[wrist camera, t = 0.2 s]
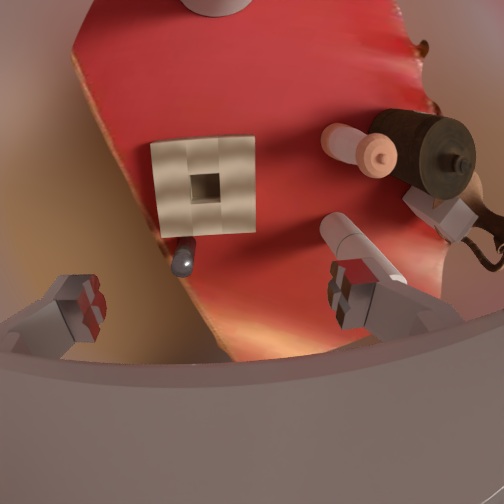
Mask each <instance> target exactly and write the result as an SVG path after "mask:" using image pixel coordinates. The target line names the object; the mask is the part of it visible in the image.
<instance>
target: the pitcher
mask: <svg viewBox="0 0 504 504" xmlns="http://www.w3.org/2000/svg"><path fill="white" fill-rule="evenodd" d="M457 197H458V198H460V199H461V200H462V201H463V202H464V203H465V204H466V205H467V206H468V207H469V208H470V209H471V210H472V211H473V212H474V213H475V214H476V215H477V216H478V218H477V220H476V221H475V223H474V224H473V225H472V227H479V228H482V229H484V230H486V231H488V232H489V233H491V234H492V235H494V243H495V246H496V251H497V253H498V254H502V253H503V256H502V258H501V260H500V261H499V262H498V263H497V264H496V265H494V264H492V263H491V262H490V261H489V260H488V259H487V258H486V257H485V256H484V254H483V253H482V252H481V251H480V249H479V248H478V247H477V245H476V244H475V243H473V241H472V240H470V239H469V238H468V237H466V236H465V237H463V239H462V240H461V241H463V242H464V243H466V244H467V245H468V246H469V247H470V248H471V249H472V251H473V252H474V254H475V255H476V257H477V258H478V259H479V261H480V263H481V264H482V265H483V266H484V267H485V268H486V269H487V270H489V271H491V272H499V271H501V270H502V269H503V268H504V217H502V216H499V215H496V214H495V213H493V212H491V211H490V210H489V209H487V208H486V207H485V205H484V204H483V201H482V200H483V190H482V184H481V181H480V178H479V176H478V175H477V173H476V172H475V171H474V172H473V175H472V178H471V180H470V182H469V184H468V186H467V187H466V188H465V190H464V191H463V192H462V193H461V194H459V195H458V196H457ZM444 201H445V200H440V199H437V198H434V202H433V209H435V208H436V207H438V206H439V205H441V204H442V203H443V202H444ZM434 226H435V225H434ZM472 227H471V228H472ZM471 228H470V229H471ZM435 229H436V231H437V233H438V234H439V235H440V236H441V237H442V238H443V239H445V240H446V241H447V242H451V241H449V240H448V239H447V238H445V237H444V236H443V235H442V234H441V232H440V231H439V230H438V229H437V227H436V226H435Z"/></svg>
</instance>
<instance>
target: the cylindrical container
mask: <svg viewBox="0 0 504 504" xmlns="http://www.w3.org/2000/svg"><path fill="white" fill-rule="evenodd" d="M320 234H321V236H322V238H323V239H324V240H325V242H326V243H327V245H328V246H329V248H330V249H331V251H332V252H333V253H334V255H335V256H336V258H337V259H338V261H339V260H349V259H359V258H368V257H372V258H374V259H375V260H376V261H377V262H378V263H379V264H380V266H381V267H382V268H383V269H384V270H385V271H386V273H387V274H388V275H389V276H390V277H391V278H392V280H398V281H400V282H402V283H405V284H407V281H406V279H405V278H404V277H403V276H402V275H401V273H400V272H399V271H398V270H397V269H396V268H395V267H394V266H393V265H392V263H391V262H390V261H389V260H388V259H387V258H386V257H385V256H384V255H383V254H382V252H381V251H380V250H379V249H378V248H377V247H376V246H375V245H374V244H373V243H372V242H371V241H370V240H369V239H368V238H367V237H366V236H365V235H364V234H363V233H362V231H361V230H360V229H359V228H358V227H357V226H356V225H355V224H354V223H353V222H352V221H351V220H350V219H349V218H348V217H347V216H346V215H344V214H343V213H340V212H333V213H330V214H328V215H327V216H326V217H325V218H324V219H323V220H322V222H321V224H320Z"/></svg>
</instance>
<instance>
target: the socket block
mask: <svg viewBox="0 0 504 504" xmlns="http://www.w3.org/2000/svg"><path fill="white" fill-rule="evenodd" d="M150 147H151V158H152V168H153V177H154V186H155V194H156V202H157V210H158V217H159V224H160V231H161V237H162V238H167V237H182V236H198V235H214V234H232V233H250V232H256V209H255V136H254V135H253V134H232V135H212V136H197V137H185V138H174V139H164V140H156V141H154V142H153V143H151V144H150Z"/></svg>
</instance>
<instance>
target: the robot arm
mask: <svg viewBox="0 0 504 504" xmlns="http://www.w3.org/2000/svg"><path fill="white" fill-rule="evenodd" d="M180 1H181V2H182V3H183V4H184V5H185V6H186V7H187V8H188V9H190V10H191V11H193V12H195V13H198V14H200V15H204V16H212V17H218V16H226V15H230V14H233V13H236V12H238V11H240V10H242V9H243V8H245V7H246V6H247V5H248V4H249V3H250V2H251V1H252V0H180ZM330 273H331V275H332V277H333V278H332V279H331V280H330V281H329V283H328V289H327V295H328V302H329V305H330V307H331V309H333V310H334V311H336V319H337V321H338V323H339V325H340V327H341V329H342V330H344V329H352V328H360V327H364V328H365V329H366V330H368V331H369V332H370V333H372V334H373V335H375V336H376V337H377V338H379V339H380V340H381V341H383V343H378V344H372V345H368V346H362V347H356V348H351V349H345V350H339V351H333V352H326V353H319V354H312V355H304V356H297V357H288V358H279V359H269V360H258V361H246V362H232V363H215V364H214V363H213V364H183V365H182V364H179V365H150V364H149V365H148V364H117V363H99V362H86V361H74V360H64V359H59V358H61V357H62V356H63V355H64V353H66V352H67V351H68V350H69V349H70V348H71V347H72V346H73V345H74V344H75V342H91V343H93V342H94V343H95V341H96V339H97V336H98V334H99V331H100V328H99V324H100V323H102V322H103V321H104V319H105V316H106V309H107V308H106V301H105V298H104V295H103V294H102V293H101V292H99V287H100V283H99V280H98V277H97V276H96V275H94V274H83V275H60V276H58V277H57V278H56V280H55V281H54V283H53V284H52V285H51V287H50V288H49V289H48V291H47V292H46V294H45V295H44V296H43V298H42V299H41V300H37V301H35V302H34V303H32V304H31V305H29V306H27V307H26V308H24V309H23V310H21V311H19V312H18V313H16V314H14V315H13V316H11V317H10V318H8V319H7V320H5V321H4V322H2V323H0V504H504V309H502V310H499V311H496V312H493V313H491V314H487V315H485V316H481V317H479V318H475V319H472V320H469V321H465V320H464V319H463V318H462V317H461V316H460V315H459V313H458V312H457V311H456V310H455V309H454V308H453V306H452V305H450V304H449V303H446V302H444V301H442V300H440V299H438V298H436V297H433V296H431V295H429V294H427V293H425V292H422V291H420V290H418V289H416V288H414V287H411V286H409V285H407V284H405V283H402V282H400V281H398V280H392V278H391V277H390V276H389V275H388V274H387V273H386V271H385V270H384V269H383V268H382V267H381V266H380V264H379V263H378V262H377V261H376V260H375V259H374V258H372V257H368V258H359V259H349V260H339V261H332V264H331V267H330Z"/></svg>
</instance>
